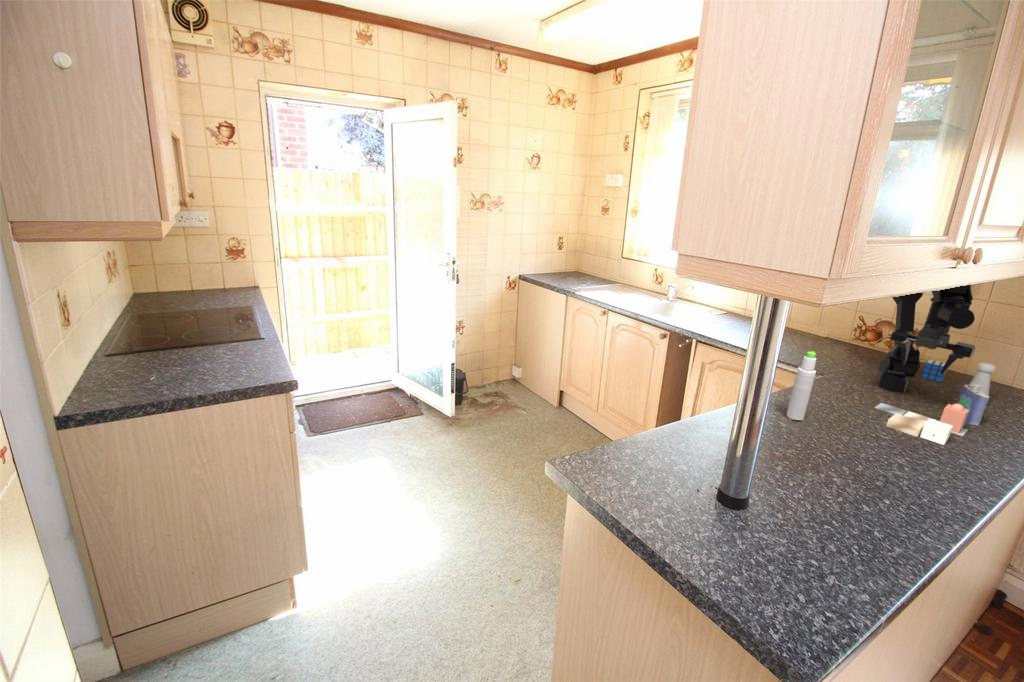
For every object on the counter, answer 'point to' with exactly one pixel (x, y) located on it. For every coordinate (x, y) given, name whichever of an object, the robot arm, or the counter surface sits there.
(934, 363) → the puzzle toy
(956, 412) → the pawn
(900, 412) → the board
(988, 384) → the salt shaker
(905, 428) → the block
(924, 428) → the die
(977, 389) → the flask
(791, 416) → the bottle
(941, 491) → the counter surface
